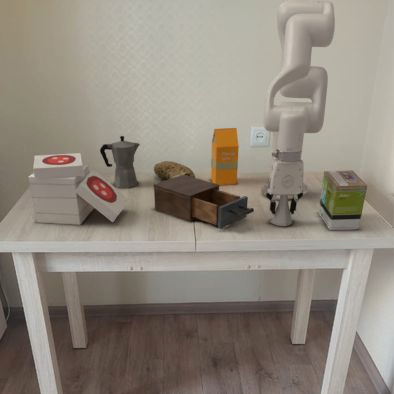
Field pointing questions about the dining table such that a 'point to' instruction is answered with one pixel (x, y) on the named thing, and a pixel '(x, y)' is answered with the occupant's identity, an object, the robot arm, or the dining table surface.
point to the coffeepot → (122, 162)
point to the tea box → (342, 200)
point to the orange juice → (224, 156)
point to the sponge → (172, 170)
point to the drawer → (220, 208)
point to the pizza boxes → (71, 190)
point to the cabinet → (180, 195)
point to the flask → (282, 213)
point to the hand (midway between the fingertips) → (282, 212)
